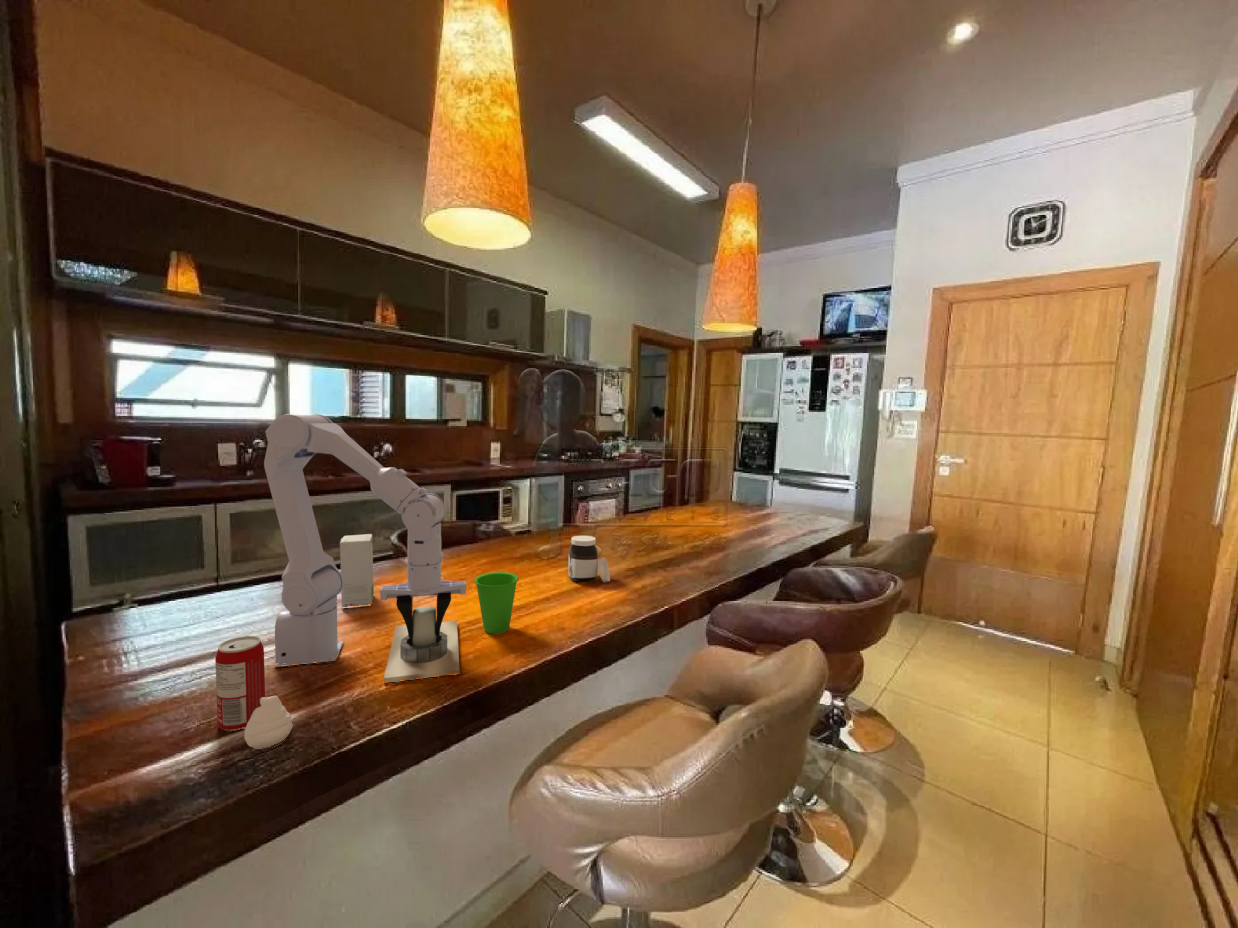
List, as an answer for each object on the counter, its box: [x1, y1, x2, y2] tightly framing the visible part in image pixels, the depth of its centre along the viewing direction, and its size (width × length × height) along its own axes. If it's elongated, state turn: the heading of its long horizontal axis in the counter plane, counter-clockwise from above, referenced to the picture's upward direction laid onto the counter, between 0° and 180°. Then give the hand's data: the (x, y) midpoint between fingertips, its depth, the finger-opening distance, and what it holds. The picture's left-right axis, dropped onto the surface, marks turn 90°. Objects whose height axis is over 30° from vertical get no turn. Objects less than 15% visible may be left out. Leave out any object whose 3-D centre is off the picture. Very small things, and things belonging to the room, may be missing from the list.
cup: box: [474, 571, 519, 635], centre depth 108 cm, size 9×9×11 cm
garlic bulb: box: [243, 695, 294, 748], centre depth 70 cm, size 6×6×5 cm
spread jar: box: [567, 535, 611, 583], centre depth 143 cm, size 12×11×12 cm
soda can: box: [214, 635, 266, 730], centre depth 73 cm, size 6×6×12 cm
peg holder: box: [383, 620, 460, 683], centre depth 97 cm, size 12×22×4 cm, turn 19°
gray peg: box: [412, 606, 437, 647], centre depth 94 cm, size 4×4×7 cm
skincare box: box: [339, 533, 375, 608], centre depth 120 cm, size 8×7×16 cm
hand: (424, 634), depth 94 cm, fingers closed on gray peg, 4 cm apart
